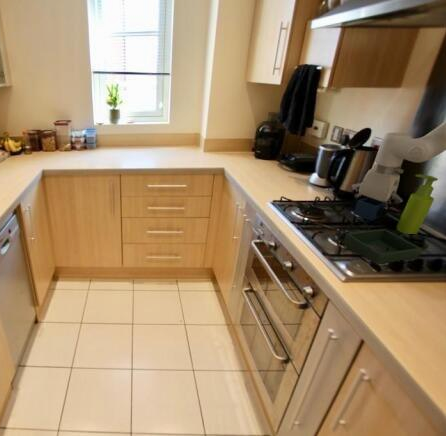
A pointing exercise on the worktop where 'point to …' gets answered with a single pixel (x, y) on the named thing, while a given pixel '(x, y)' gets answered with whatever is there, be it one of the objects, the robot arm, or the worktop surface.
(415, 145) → the robot arm
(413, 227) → the soap dispenser
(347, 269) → the worktop surface
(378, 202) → the small bin
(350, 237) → the big bin
